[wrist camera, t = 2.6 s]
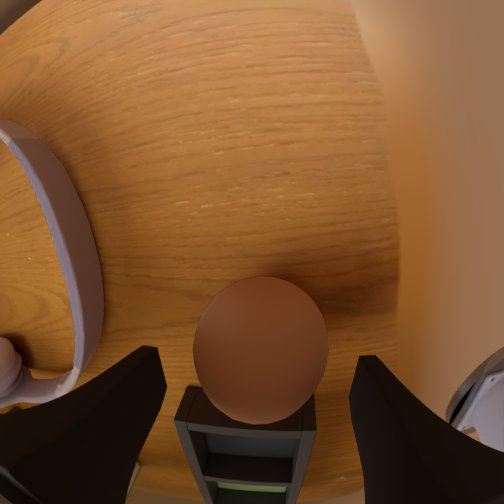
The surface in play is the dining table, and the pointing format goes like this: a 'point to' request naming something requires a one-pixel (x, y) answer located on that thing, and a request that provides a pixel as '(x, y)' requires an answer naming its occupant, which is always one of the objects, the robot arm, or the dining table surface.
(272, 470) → the divided tray
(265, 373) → the egg
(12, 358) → the headphones
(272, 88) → the dining table surface
